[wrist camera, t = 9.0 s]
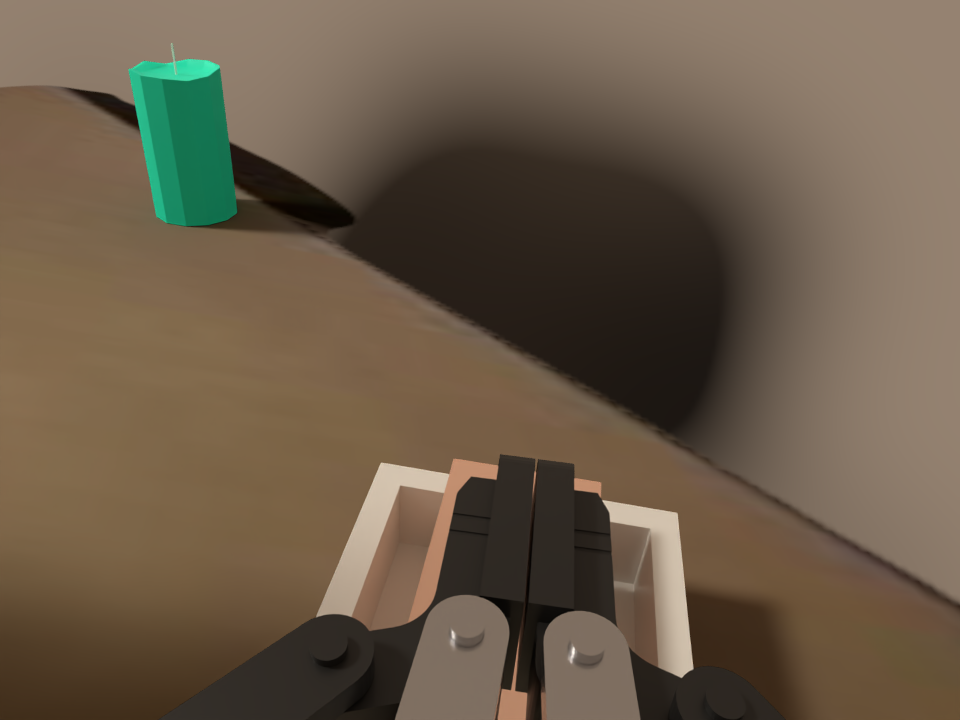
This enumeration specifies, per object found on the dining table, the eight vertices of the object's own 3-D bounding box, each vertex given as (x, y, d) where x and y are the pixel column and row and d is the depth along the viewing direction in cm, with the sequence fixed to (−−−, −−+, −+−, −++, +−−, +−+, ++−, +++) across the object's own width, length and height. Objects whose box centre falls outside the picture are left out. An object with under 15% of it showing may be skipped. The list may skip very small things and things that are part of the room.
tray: (675, 971, 17) (717, 908, 15) (255, 875, 18) (238, 802, 16) (653, 585, 27) (677, 513, 25) (381, 535, 28) (381, 462, 26)
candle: (246, 198, 57) (227, 38, 50) (227, 228, 52) (205, 55, 45) (169, 194, 56) (141, 32, 50) (144, 224, 51) (108, 48, 45)
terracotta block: (596, 801, 15) (601, 482, 23) (370, 755, 15) (453, 458, 24) (563, 895, 18) (578, 580, 26) (372, 854, 18) (446, 557, 26)
